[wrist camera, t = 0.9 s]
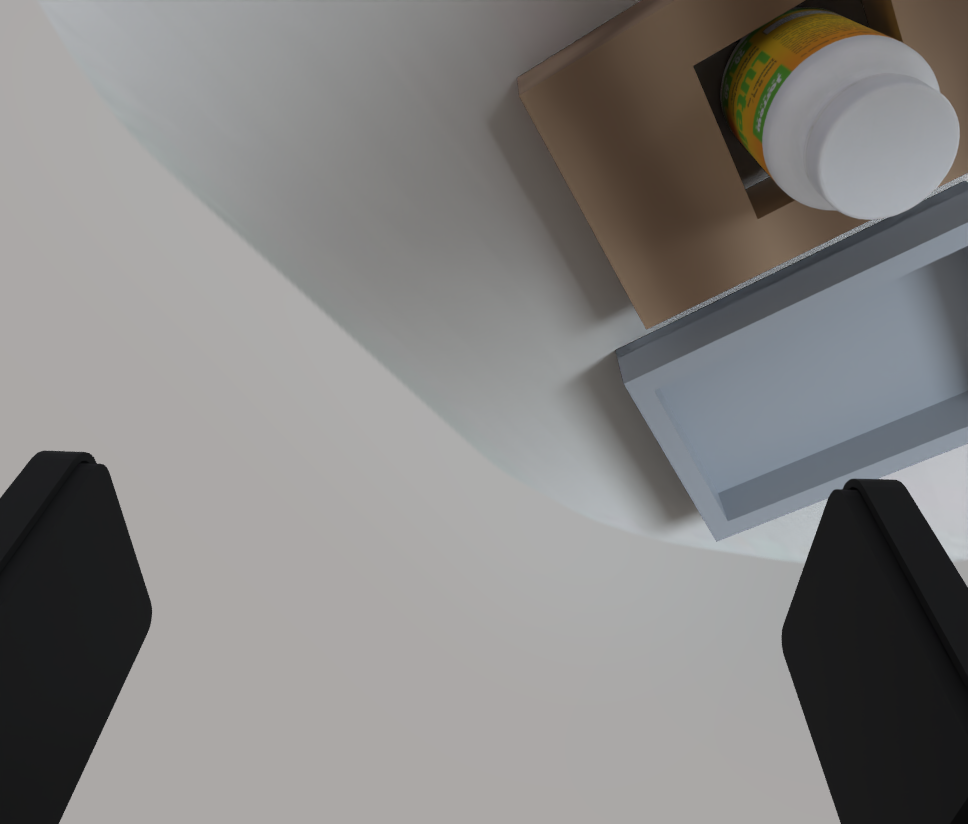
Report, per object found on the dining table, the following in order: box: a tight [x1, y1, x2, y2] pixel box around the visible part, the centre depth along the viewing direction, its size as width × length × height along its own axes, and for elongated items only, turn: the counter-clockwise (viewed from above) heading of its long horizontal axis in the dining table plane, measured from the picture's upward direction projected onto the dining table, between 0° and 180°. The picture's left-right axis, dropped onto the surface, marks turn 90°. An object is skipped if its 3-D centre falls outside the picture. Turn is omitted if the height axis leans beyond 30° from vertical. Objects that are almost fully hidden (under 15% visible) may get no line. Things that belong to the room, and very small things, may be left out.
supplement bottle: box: [720, 7, 960, 220], centre depth 27 cm, size 5×5×10 cm
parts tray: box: [616, 181, 968, 542], centre depth 37 cm, size 16×11×3 cm
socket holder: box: [517, 0, 968, 329], centre depth 30 cm, size 18×11×3 cm, turn 121°
